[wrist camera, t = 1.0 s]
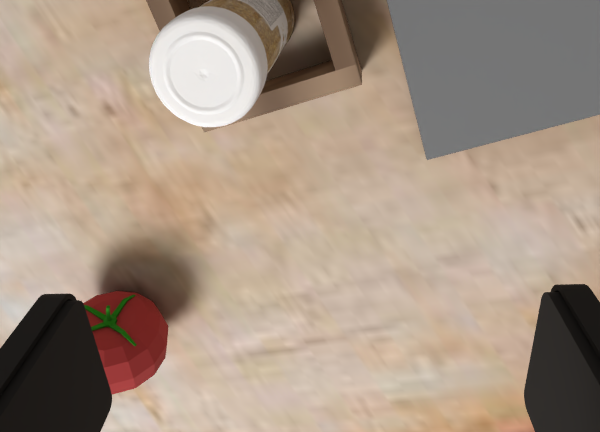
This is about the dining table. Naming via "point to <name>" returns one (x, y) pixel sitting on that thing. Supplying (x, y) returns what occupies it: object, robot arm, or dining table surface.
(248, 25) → the spice jar
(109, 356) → the tomato
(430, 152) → the mat
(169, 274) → the dining table surface
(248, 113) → the brown wooden square tray
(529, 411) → the robot arm
